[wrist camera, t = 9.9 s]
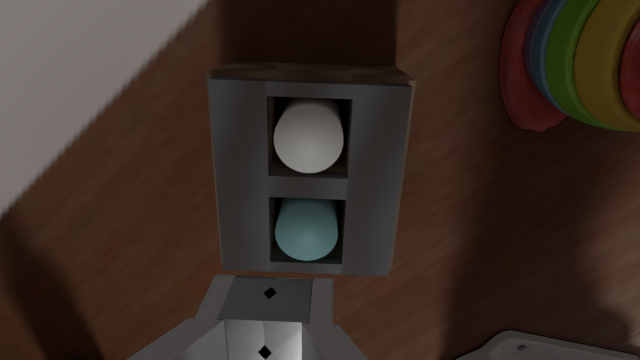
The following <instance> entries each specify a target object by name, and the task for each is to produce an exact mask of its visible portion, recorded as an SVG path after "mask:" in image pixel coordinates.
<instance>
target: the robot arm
mask: <svg viewBox="0 0 640 360" xmlns="http://www.w3.org/2000/svg"><path fill="white" fill-rule="evenodd" d="M127 360H368V359H367V358H366V357H365V355H364V354H363V353H362V352H361V351H360V349H359V348H358V347H357V346H356V345H355V344H354V342H353V341H352V340H351V339H350V338H349V336H348V335H347V334H346V333H345V332H344V330H343V329H342V328H341V327H340V326H339V325H333V279H317V278H313V279H294V278H274V277H258V276H242V275H237V276H236V275H220V274H218V275H216V276H215V277H214V279H213V281H212V283H211V285H210V287H209V289H208V291H207V293H206V295H205V297H204V299H203V301H202V303H201V306H200V308H199V310H198V312H197V314H196V316H195V318H194V319H187V320H185V321H184V322H182V323H181V324H179V325H178V326H176V327H175V328H173V329H172V330H170V331H169V332H167V333H166V334H164V335H163V336H161V337H160V338H158V339H157V340H155V341H154V342H152V343H151V344H149V345H148V346H146V347H145V348H143V349H142V350H140V351H139V352H137V353H136V354H134V355H133V356H131V357H130V358H128V359H127ZM456 360H640V359H639V358H638V357H637V356H635V355H632V354H628V353H623V352H618V351H613V350H608V349H603V348H598V347H593V346H588V345H583V344H578V343H573V342H568V341H562V340H557V339H552V338H547V337H542V336H537V335H532V334H527V333H522V332H517V331H511V330H510V331H504V332H501V333H499V334H498V335H496V336H495V337H494V338H492V339H491V340H490V341H489V342H488V343H486V344H485V345H484V346H483V347H482V348H480V349H478V350H476V351H474V352H471V353H469V354H466V355H464V356H462V357H460V358H458V359H456Z"/></svg>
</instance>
